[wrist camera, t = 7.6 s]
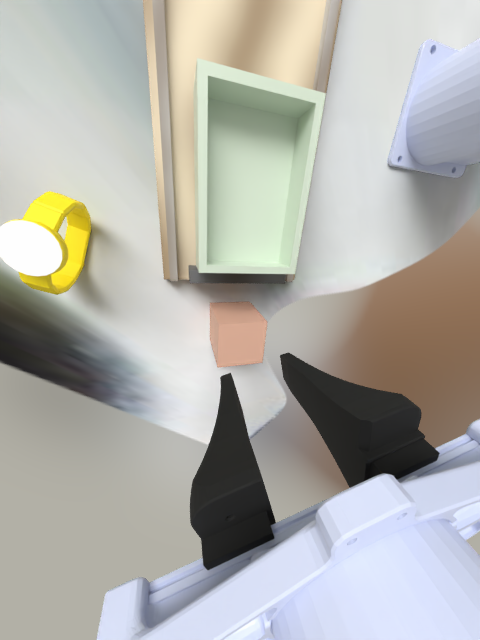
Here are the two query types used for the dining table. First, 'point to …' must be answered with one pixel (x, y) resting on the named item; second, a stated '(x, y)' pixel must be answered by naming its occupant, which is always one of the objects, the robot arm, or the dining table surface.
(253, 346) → the block
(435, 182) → the dining table surface
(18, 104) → the dining table surface
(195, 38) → the track
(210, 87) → the pale green open tray
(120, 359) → the dining table surface
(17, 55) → the dining table surface
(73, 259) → the watch
